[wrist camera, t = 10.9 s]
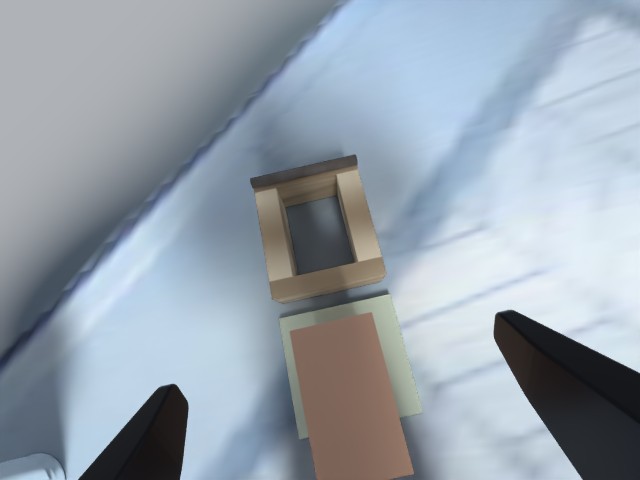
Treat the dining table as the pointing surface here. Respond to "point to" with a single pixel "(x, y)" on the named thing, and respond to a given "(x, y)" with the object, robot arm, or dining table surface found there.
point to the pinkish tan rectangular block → (349, 401)
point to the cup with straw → (32, 468)
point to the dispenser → (276, 236)
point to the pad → (388, 340)
